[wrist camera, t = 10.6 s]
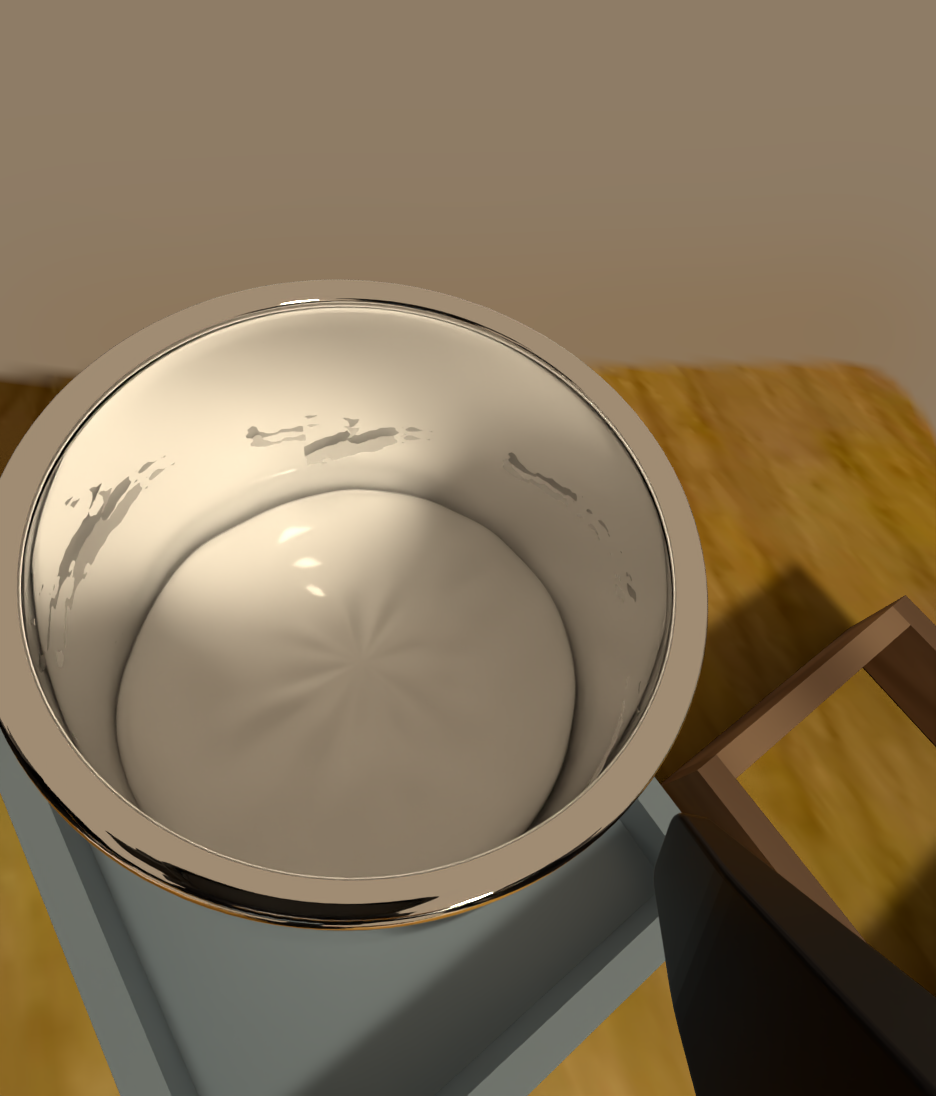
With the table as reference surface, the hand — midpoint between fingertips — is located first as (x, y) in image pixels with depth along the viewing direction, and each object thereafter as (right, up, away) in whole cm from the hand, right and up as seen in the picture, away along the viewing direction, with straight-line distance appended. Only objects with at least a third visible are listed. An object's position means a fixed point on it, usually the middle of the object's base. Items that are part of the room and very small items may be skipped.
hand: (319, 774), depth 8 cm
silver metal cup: (-2, -4, +11) cm, 12 cm away
